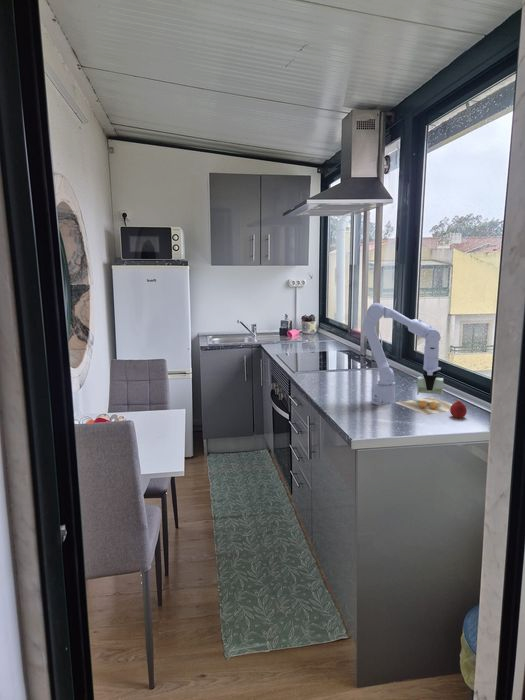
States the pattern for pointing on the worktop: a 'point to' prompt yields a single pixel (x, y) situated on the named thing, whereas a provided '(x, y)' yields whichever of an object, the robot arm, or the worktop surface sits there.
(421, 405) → the marble
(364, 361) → the worktop surface
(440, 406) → the birch board
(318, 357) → the worktop surface
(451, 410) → the red rounded piece
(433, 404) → the marble
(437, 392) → the sage container
